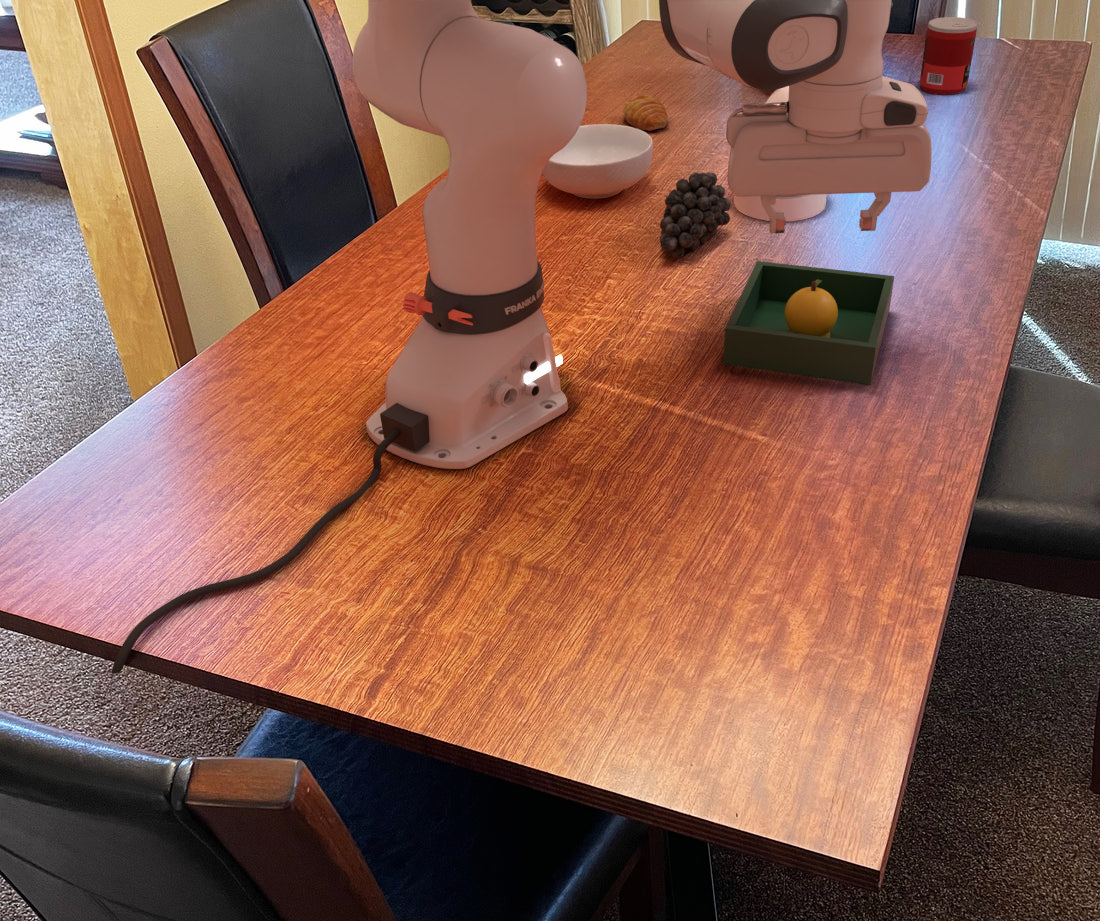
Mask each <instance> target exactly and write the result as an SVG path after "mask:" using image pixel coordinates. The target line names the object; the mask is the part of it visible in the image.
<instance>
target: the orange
mask: <svg viewBox="0 0 1100 921" xmlns="http://www.w3.org/2000/svg"><path fill="white" fill-rule="evenodd" d="M821 282H822V280H816V281H813V282H812V285H811V287H807V288H803V289H800V290H799V291H797V292H796V293H794V294H793V295H792V296H791V297H790V299H789V300H788V302H787V304H786V307H785V320H786V324H787V326H788V327H789V331H788V332H789V333H796V334H804V335H812V336H820V337H828V338H830V331H831V329H832V328H833V327H834V325H835V323H836V321H837V316H838V308H837V304H836V302H835V300H834V298H833V297H832V296H831V295H830V294H829V293H828V292H827V291H825V290H823V289H821V288H817V286H818V285H819V284H820V283H821Z"/></svg>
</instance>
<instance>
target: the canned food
mask: <svg viewBox="0 0 1100 921" xmlns="http://www.w3.org/2000/svg"><path fill="white" fill-rule="evenodd" d="M977 32H978V22H977V21H976V20H974V19H971V18H966V17H960V16H958V17H957V16H945V17H937V18H932V19H930V20H929V21H928V24H927V27H926V34H925V41H924V49H923V55H922V61H921V70H920V79H919V87H920V89H921V90H922V91H924V92H925V93H929V94H933V95H940V96H941V95H942V96H944V95H945V96H949V95H951V96H952V95H957V94H960V93H963V92H964V91H966V88H967V86H968V85H969V79H970V72H971V67H972V61H973V56H974V49H975V43H976V39H977V38H976V37H977Z"/></svg>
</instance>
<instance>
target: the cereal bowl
mask: <svg viewBox="0 0 1100 921" xmlns="http://www.w3.org/2000/svg"><path fill="white" fill-rule="evenodd" d="M653 153H654V141H653V138H652V136H650V134H648V133H647V132H646V131H644V130H640V129H638V128H637V127H636V128H635V127H634V126H628V125H623V124H622V125H621V124H612V123H611V124H610V123H595V124H585V125H580V126H579V128H578V130H577V132H576V134H575V135H574V137H573V138H572V139H571V140H570V141H569V143H568V144H567V145H566V146H565V147H564V148H563V149H561V150H560V151H559V152H557V153H556V154H554V155H553V156H552V157H551V158H550V159H549V161H548V162H547V164H546V166H545V168H544V170H543V172H542V175H543V177H544V179H545V180H546V181H547V182H548V183H549V184H550V185H551V186H553V187H554V188H556V189H557V190H560V191H562V192H565V193H568V194H572V195H573V196H576V197H578V198H583V199H587V200H588V199H590V200H598V199H606V198H610V197H614V196H617V195H618V194H620V193H622V191H624V190H626V189H629V188H630V187H633V186H634V185H636V184H637V183H638V182H640V181H641V180H642V179H643V178H644V177H645V175H646V174H647V172H648V171H649V169H650V168H651V164H652V161H653Z"/></svg>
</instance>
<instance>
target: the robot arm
mask: <svg viewBox="0 0 1100 921" xmlns="http://www.w3.org/2000/svg"><path fill="white" fill-rule="evenodd" d="M367 1H368V2H367V8H368V9H367V10H368V11H367V20H366V22H365V24H364V25H363V26H362V28H361V29H360V31H359V33H358V35H357V38H356V39H355V43H354V47H353V52H352V73H353V79H354V82H355V85H356V87H357V89H358V91H359V93H360V95H361V96H362V97H363V98H364V99H365V101H366V102H367V103H369V104H370V105H371V106H373V107H374V108H375V109H377V110H378V111H380V112H381V113H383V114H384V115H386V116H387V117H388V118H390V119H392V120H393V121H395V122H397V123H399V124H400V125H402V126H405V127H409V128H411V129H415V130H419V131H421V132H425V133H429V134H432V135H435V136H438V137H442V138H443V139H444V140H445V142H446V144H447V146H448V151H449V163H448V164H449V166H448V170H447V171H448V172H447V176H446V177H445V178H443V179H441V180H440V181H439V182H438V183H437V184H435V185H434V186H433V188H432V189H430V191H429V192H428V194H426V196H425V199H424V201H423V204H422V210H421V211H422V212H421V213H422V219H423V220H422V222H423V229H424V230H423V231H424V236H425V243H426V244H425V246H426V253H427V260H428V269H429V270H428V272H427V275H426V280H425V286H424V292H423V295H419V294H418V293H415V292H412V291H410V292H407V293H406V294H405V295H404V297H403V300H402V308H403V310H404V311H405V312H407V313H410V314H416V315H417V316H422V317H421V318H420V320H419V322H418V324H417V325H416V327H415V328H414V329H413V332H412V333H411V335H410V336H409V338H408V339H407V341H406V343H405V345H404V346H403V348H402V350H401V351H400V353H399V355H398V356H397V357H396V359H395V361H394V362H393V364H392V366H391V367H390V369H389V370H388V373H387V375H386V377H385V378H386V379H385V388H384V395H385V401H384V402H383V404H381V405H380V407H379V408H377V409H376V410H375V412H373V414H372V415H371V416H370V417H368V419H367V420H366V422H365V431H366V433H367V435H368V436H369V438H370V439H371V440H372V441H373V442H374V443H375V444H376V445H377V447H376V449H375V451H374V453H373V456H372V462H373V468H372V470H371V472H370V474H369V476H368V478H367V480H366V481H365V482H364V484H363V485H362V486H361V487H360V488H359V489H358V490H356V491H355V492H354V493H353V494H351V495H349V496H347V497H346V498H345V499H343V500H342V501H340V502H338V503H337V504H336V505H335V506H332V508H330V509H329V510H328V511H326V513H324V514H323V515H322V517H321V518H320V519H318V521H316V522H315V524H314V525H313V526H312V527H311V528H310V529H309V530H308V531H307V532H306V534H304V536H303V537H302V538H301V539H300V540H299V541H298V542H297V543H296V544H295V545H294V546H293V547H292V548H291V549H290V550H289V551H287V552H286V553H285V554H284V555H282V556H281V557H279V558H278V559H276V560H275V561H274V562H272V563H270V564H269V565H267V566H264V567H263V568H260V569H258V570H256V571H253V572H250V573H248V574H245V575H241V576H237V577H234V578H230V579H226V580H221V581H217V582H214V583H209V584H205V585H203V586H199V587H196V588H194V589H191V590H188V591H187V592H184V593H182V594H180V595H178V596H176V597H174V598H172V599H171V600H169V601H168V602H166V603H164V604H163V605H161V606H160V607H159V608H157V609H155V610H154V611H152V612H151V613H149V614H148V615H147V616H146V617H144V618H143V619H142V620H141V621H140V622H138V623H137V624H136V625H135V626H134V628H133V629H132V630H131V631H130V632H129V634H128V635H127V636H126V639H125V640H124V642H123V643H122V645H121V647H120V649H119V651H118V652H117V655H116V657H115V660H114V662H113V666H112V668H111V674H113V675H115V674H117V675H118V674H119V673H120V672H122V670H123V669H124V666H125V664H126V661H127V659H128V658H129V655H130V653H131V652H132V649H133V647H134V646H135V644H136V642H137V641H138V640H139V638H140V637H141V636H142V634H143V633H144V632H145V631H146V630H147V629H148V628H149V627H150V626H152V625H153V624H154V623H155V622H157V621H158V620H160V619H162V618H163V617H164V616H166V615H167V614H169V613H170V612H172V611H174V610H175V609H177V608H179V607H181V606H182V605H184V604H186V603H188V602H190V601H193V600H195V599H198V598H200V597H203V596H207V595H210V594H213V593H218V592H222V591H226V590H229V589H234V588H237V587H241V586H245V585H248V584H252V583H253V582H257V581H259V580H262V579H264V578H266V577H268V576H270V575H272V574H273V573H276V572H277V571H279V570H280V569H281V568H284V567H285V566H286V565H287V564H289V563H290V562H291V561H293V560H294V559H296V557H297V556H298V555H300V554H301V552H303V551H304V550H305V549H306V548H307V547H308V545H309V544H310V543H312V541H313V540H314V539H315V537H317V535H318V534H319V533H320V532H321V531H322V530H323V529H324V528H325V526H326V525H327V524H328V523H330V521H331V520H333V519H334V518H335V517H337V515H339V514H340V513H342V512H343V511H344V510H347V508H349V507H350V506H351V505H353V504H354V503H355V502H357V501H358V500H359V498H361V496H363V495H364V493H365V492H367V491H368V490H369V489H370V488H371V487H372V486H373V485H374V484H375V483H376V482H377V480H378V478H379V476H380V474H381V472H382V467H383V466H382V457H383V455H384V453H385V451H387V452H389V453H391V454H393V455H394V456H395V455H396V456H398V457H400V458H402V459H405V460H407V461H411V462H413V463H417V464H419V465H423V466H428V467H431V468H436V469H447V470H463V469H464V470H465V469H469V468H470V467H472V466H475V465H476V464H478V463H480V462H481V461H483V460H485V459H487V458H488V457H490V456H492V455H493V454H495V453H497V452H499V451H500V450H502V449H504V448H506V447H507V446H509V445H511V444H512V443H514V442H516V441H518V440H520V439H521V438H523V437H525V436H526V435H528V434H530V433H532V432H534V431H535V430H537V429H539V428H541V427H542V426H544V425H546V424H547V423H549V422H551V421H552V420H554V419H556V418H558V417H559V416H561V415H563V414H565V413H566V412H567V411H568V410H569V403H568V402H569V401H568V399H567V396H566V394H565V393H564V392H563V389H562V388H561V384H562V383H561V378H560V375H559V374H558V367H559V366H561V365H563V363H564V362H563V355H562V354H558V355H557V356H556V354H555V348H554V344H553V339H552V335H551V332H550V330H549V327H548V324H547V321H546V317H545V315H544V311H543V307H542V306H543V303H544V301H545V290H544V289H545V279H544V276H543V269H542V264H541V263H540V261H539V260H538V250H537V248H538V247H537V223H536V220H537V218H536V207H537V206H536V204H537V194H538V188H539V185H540V181H541V178H542V175H543V174H542V172H543V170H544V168H545V166H546V164H547V162H548V161H549V159H550V158H551V157H552V156H553V155H554V154H556V153H557V152H559V151H560V150H561V149H563V148H564V147H565V146H566V145H567V144H568V143H569V141H570V140H571V139H572V138H573V137H574V135H575V134H576V132H577V130H578V128H579V126H581V124H582V122H583V120H584V116H585V113H586V108H587V102H588V86H587V85H588V84H587V79H586V74H585V72H584V68H583V66H582V63H581V62H580V59H579V58H578V56H576V53H574V52H573V51H572V50H571V49H569V48H568V47H565V46H564V45H562V44H560V43H559V42H557V41H555V40H553V39H551V38H550V37H548V36H546V35H544V34H542V33H539V32H537V31H535V30H534V29H531V28H528V27H524V26H523V27H522V26H519V25H515V24H514V25H513V24H508V23H504V22H498V21H494V20H489V19H485V18H482V17H480V16H479V15H478V13H477V12H476V11H475V9H474V7H473V4H472V1H471V0H367ZM658 8H659V9H658V10H659V19H660V24H661V29H662V32H663V35H664V38H665V40H666V41H667V44H668V45H669V46H670V47H671V49H672V50H673V51H674V52H675V53H677V54H678V56H680V57H682V58H683V59H686V60H688V61H691V62H694V63H697V64H699V65H703V66H706V67H709V68H711V69H712V70H714V71H717V72H718V73H720V74H721V75H724V76H726V77H727V78H729V79H732V80H735V81H736V82H738V83H740V84H742V85H744V86H746V87H749V88H751V89H755V90H759V91H767V92H768V91H775V90H777V89H781V88H784V87H787V86H789V97H788V101H787V102H776V103H766V102H765V103H766V104H765V103H755V102H752V103H751V102H750V103H744V104H742V107H740V108H737V109H735V110H734V111H732V113H731V114H729V116H728V118H727V120H726V135H725V136H726V137H725V138H726V141H727V144H728V145H729V146H730V151H729V157H728V164H727V165H728V166H727V175H726V176H727V186H728V189H729V190H730V191H731V193H732V194H733V196H734V195H735V196H737V197H748V196H760V197H761V202H762V206H763V207H764V209H765V211H766V213H767V214H768V216H769V218H770V221H768V222H769V224H768V227H769V233H770V234H773V235H774V234H785V230H786V228H785V226H786V222H785V216H784V212H776V211H775V209H774V207H773V205H774V204H775V203H776V196H781V195H814V194H827V195H841V194H842V195H843V194H847V195H848V194H873V195H874V197H875V198H874V200H873V202H872V203H871V205H869V208H868V209H860V213H859V221H858V227H859V229H860V232H875V231H876V229H877V223H878V217H880V215H881V214H882V213H883V211H884V210H885V209H886V207H887V206H888V205H889V204H890V203H891V198H892V193H907V192H908V193H911V192H912V193H913V192H914V193H915V192H921V191H922V190H923V189H924V188H925V187H926V186H927V185H928V183H929V182H930V178H931V171H932V154H933V152H932V150H933V148H932V138H931V135H930V132H929V130H928V128H927V127H926V124H925V123H926V122H927V120H928V119H927V118H928V113H929V109H928V104H927V102H926V99H925V98H924V96H923V94H922V92H921V91H920V90H919V89H918V88H917V87H916V86H915V85H913V84H911V83H909V82H905V81H902V80H898V79H896V78H895V79H894V78H891V77H888V76H884V66H885V65H884V60H883V53H882V52H883V51H882V50H883V49H882V48H883V42H884V38H885V36H886V33H887V31H888V28H889V24H890V16H891V10H892V9H891V8H892V6H891V0H658ZM740 113H741V114H740Z"/></svg>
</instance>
